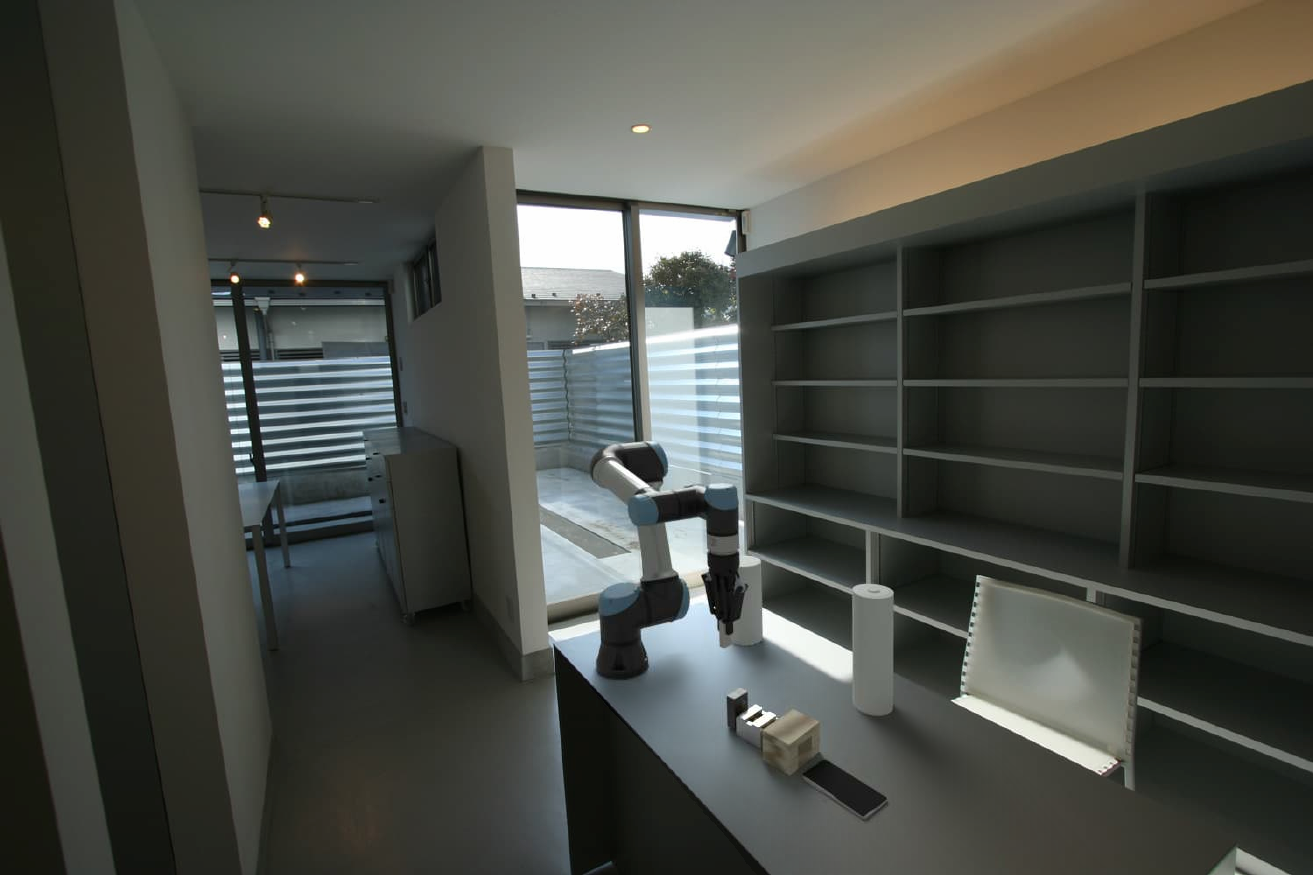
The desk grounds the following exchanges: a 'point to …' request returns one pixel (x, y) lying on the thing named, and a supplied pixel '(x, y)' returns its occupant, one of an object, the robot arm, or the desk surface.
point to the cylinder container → (872, 648)
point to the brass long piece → (738, 707)
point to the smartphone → (844, 788)
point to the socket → (791, 741)
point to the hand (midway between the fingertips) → (725, 645)
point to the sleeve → (753, 725)
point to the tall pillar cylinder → (749, 603)
